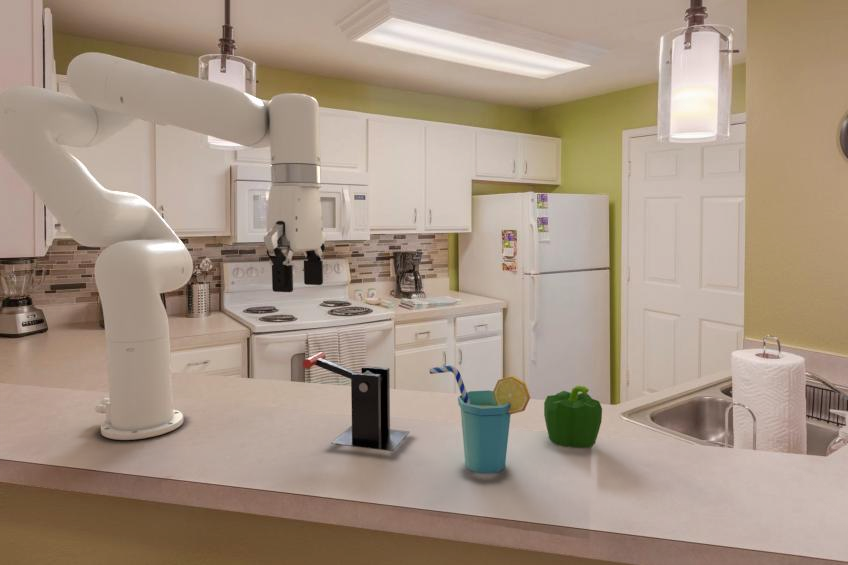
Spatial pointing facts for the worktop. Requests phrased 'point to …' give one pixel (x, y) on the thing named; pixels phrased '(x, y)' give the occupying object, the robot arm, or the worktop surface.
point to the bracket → (371, 412)
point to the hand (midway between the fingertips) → (299, 287)
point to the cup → (487, 420)
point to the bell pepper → (573, 418)
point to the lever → (330, 366)
